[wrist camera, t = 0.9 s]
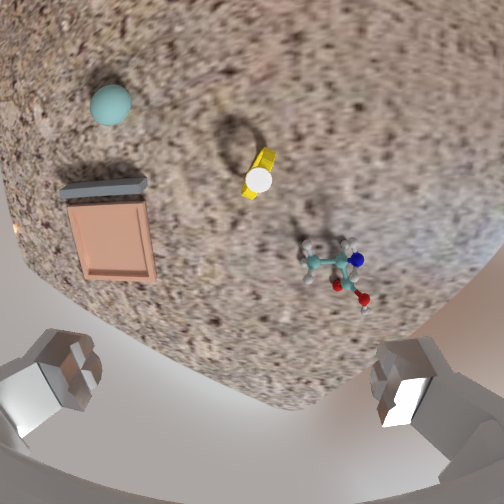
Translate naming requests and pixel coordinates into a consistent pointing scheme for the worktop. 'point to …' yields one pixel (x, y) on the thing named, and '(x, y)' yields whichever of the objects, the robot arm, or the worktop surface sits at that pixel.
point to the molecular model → (340, 262)
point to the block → (104, 188)
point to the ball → (110, 105)
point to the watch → (259, 174)
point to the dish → (113, 240)
